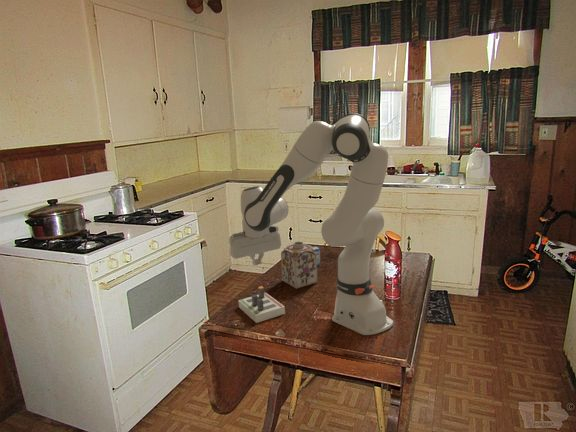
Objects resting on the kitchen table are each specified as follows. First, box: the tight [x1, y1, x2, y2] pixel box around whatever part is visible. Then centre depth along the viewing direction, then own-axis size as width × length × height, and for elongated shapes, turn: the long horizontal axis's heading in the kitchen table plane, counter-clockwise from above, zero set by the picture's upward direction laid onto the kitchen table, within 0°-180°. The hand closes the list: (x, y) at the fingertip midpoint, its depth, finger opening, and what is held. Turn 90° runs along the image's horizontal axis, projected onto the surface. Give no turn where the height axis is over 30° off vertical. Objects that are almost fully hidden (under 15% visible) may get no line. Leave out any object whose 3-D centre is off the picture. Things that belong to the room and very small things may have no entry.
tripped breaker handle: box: [257, 285, 265, 298], centre depth 164 cm, size 2×2×4 cm
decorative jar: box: [280, 240, 318, 289], centre depth 183 cm, size 12×12×18 cm
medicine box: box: [312, 246, 321, 267], centre depth 203 cm, size 8×4×9 cm, turn 117°
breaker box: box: [238, 292, 286, 324], centre depth 160 cm, size 15×12×7 cm
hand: (257, 264), depth 160 cm, fingers closed
